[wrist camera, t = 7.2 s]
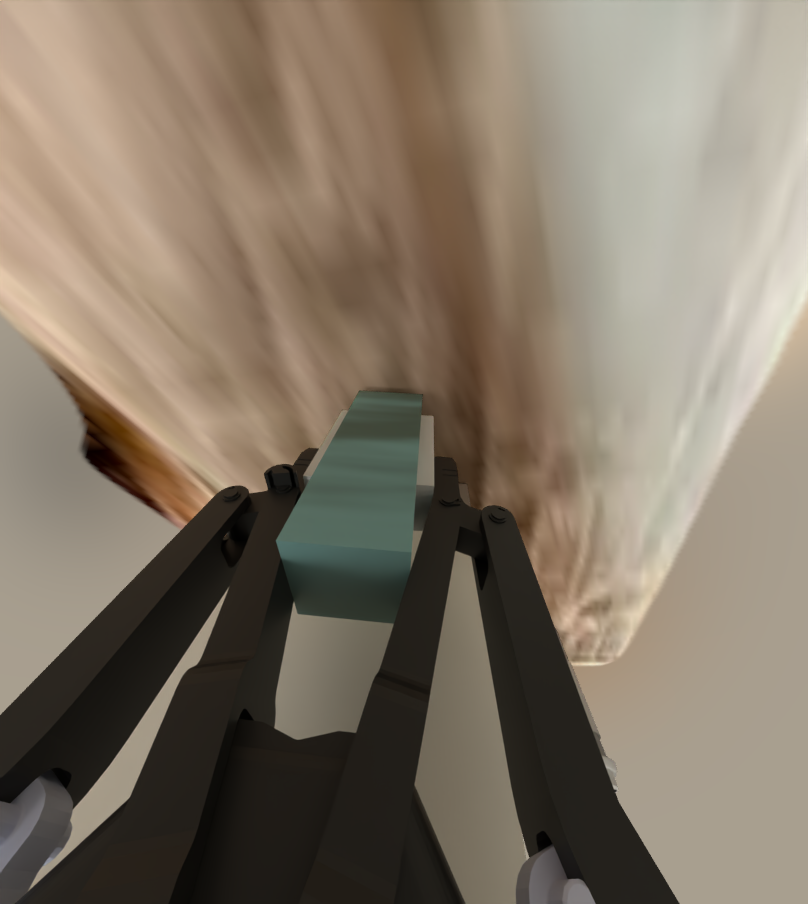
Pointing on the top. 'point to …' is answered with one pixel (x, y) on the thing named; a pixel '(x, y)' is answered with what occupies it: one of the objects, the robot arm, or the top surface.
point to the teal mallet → (358, 514)
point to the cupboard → (340, 708)
